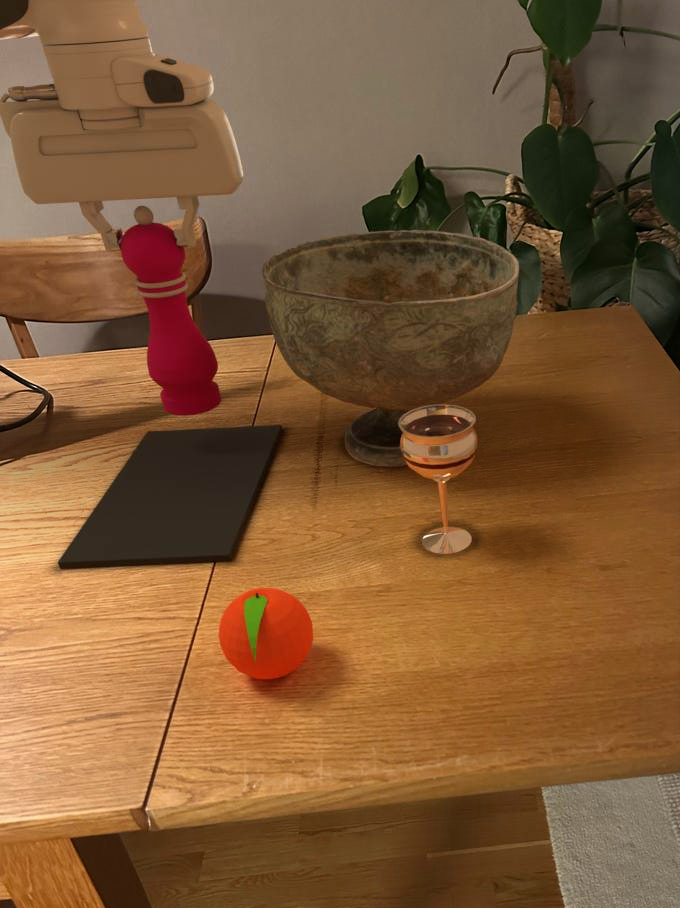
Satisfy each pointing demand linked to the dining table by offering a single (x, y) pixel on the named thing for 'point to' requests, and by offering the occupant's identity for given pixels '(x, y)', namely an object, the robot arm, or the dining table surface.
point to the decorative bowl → (392, 323)
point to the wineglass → (440, 460)
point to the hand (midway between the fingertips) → (152, 248)
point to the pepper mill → (170, 319)
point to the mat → (177, 499)
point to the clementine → (266, 633)
